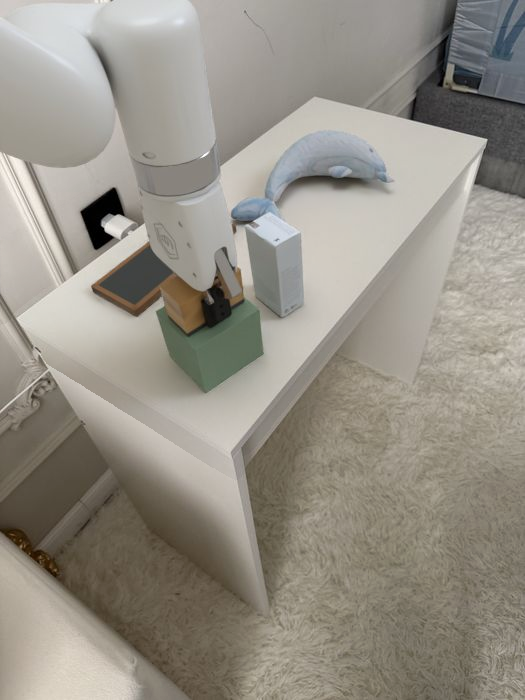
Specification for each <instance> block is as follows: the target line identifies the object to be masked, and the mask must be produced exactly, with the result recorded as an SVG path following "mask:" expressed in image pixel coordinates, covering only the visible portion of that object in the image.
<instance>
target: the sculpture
mask: <svg viewBox="0 0 525 700" xmlns="http://www.w3.org/2000/svg"><path fill="white" fill-rule="evenodd" d="M312 176H314V177H315V176H326V177H327V176H328V177H329V176H330V177H332V178H338V179H340V178H353V179H367V180H372V181H373V180H374V181H377V180H378V181H380V182H383V183H386V184H390V183H394V182H395V179H394V178H393V177H392V175H390V174H389V173H387V167H386V164H385V162H384V160H383V159H382V157H381V155H380V154H379V153H378V152H377V150H376V149H375V148H374V147H373V146H372V145H371V144H370V143H368V141H366V140H365V139H363V138H361V137H358V136H357V135H354V134H351V133H349V132H345V131H341V130H333V129H328V130H327V129H326V130H319V131H316V132H312V133H309V134H307V135H305V136H302V137H301V138H299V139H298V140H296V141H295V142H294V143H292V144H291V146H289V147H288V148H287V149H286V150H285V152H283V154H282V155H281V156H280V157H279V158H278V160H277V162H275V164H274V166H273V168H272V170H271V171H270V173H269V175H268V178H267V182H266V184H265V188H264V197H247V198H244V199H243V200H241V201H240V202H238V203H237V204H236V205H235V206H234V207H233V208H232V209H231V211H230V218H231V219H233V220H236V221H240V222H242V221H243V222H244V221H245V222H246V221H250V222H252V221H254V220H256V219H258V218H259V217H261V216H263V215H265V214H267V213H269V212H271V213H272V214H274V215H275V216H277V217H278V218H280V219H281V220H283V221H284V222H286V219H285V218H284V216H283V214H282V213H281V211H280V210H279V208H278V207H277V205H276V203H275V202H277V201H279V199H280V197H281V195H282V193H283V192H284V191H285V189H287V187H288V186H290V184H291V183H292V182H294V181H296V180H297V179H299V178H304V177H312ZM286 223H287V222H286Z"/></svg>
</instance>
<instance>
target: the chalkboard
mask: <svg viewBox="0 0 525 700" xmlns="http://www.w3.org/2000/svg"><path fill="white" fill-rule="evenodd" d="M231 224H232V229H233V234H234V235H235V233H237V225H236V224H234V223H231ZM174 277H176V275H175V274H174V273H173V271H172V270H171V269H170V268H169V267H168V266H167V265H166V264H165V263H164V262H163V261H161V260H160V259H159V258H158V257H157V256H156V254H155V253H154V252H153V250H152V249H151V246H150V243H149V241H147V242H146V243H145V244H143V245H142V246H140V247H139V248H138V249H137V250H135V251H134V252H133V253H132V254H130V255H129V256H127V258H125V259H123V261H121V262H120V263H119V264H117V265H116V266H115V267H114V268H112V269H111V270H110V271H108V272H107V273H106V274H104V275H103V276H102V277H101V278H99V279H98V280H97V281H95V282H94V283H92V284H91V285H90V288H91V291H92V293H94V294H96V295H98V296H99V297H101V298H102V299H104V300H106V301H108V302H110V303H112V304H113V305H114V306H117V307H119V308H121V309H122V310H124V311H126V312H128V313H129V314H131V315H132V316H135V317H139V316H140V315H141V314H142V313H144V312H145V311H146V310H147V309H148V308H149V307H150V306H151V305H153V304H154V303H155V302H156V301H157V300H159V299H160V298H161V297H162V294H161V290H160V287H159V286H160V285H162V284H164V283H165V282H167V281H169V280H171V279H173V278H174Z"/></svg>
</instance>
